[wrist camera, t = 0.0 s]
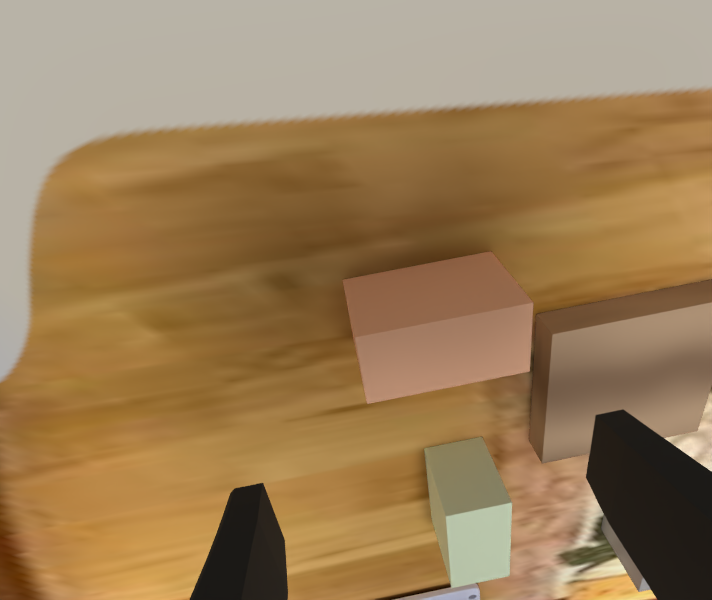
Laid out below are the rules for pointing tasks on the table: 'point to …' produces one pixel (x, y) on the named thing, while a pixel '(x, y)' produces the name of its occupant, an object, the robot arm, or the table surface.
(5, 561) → the table surface
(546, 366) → the walnut slab
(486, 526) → the sage brick
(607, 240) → the table surface
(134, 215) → the table surface
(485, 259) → the terracotta brick
